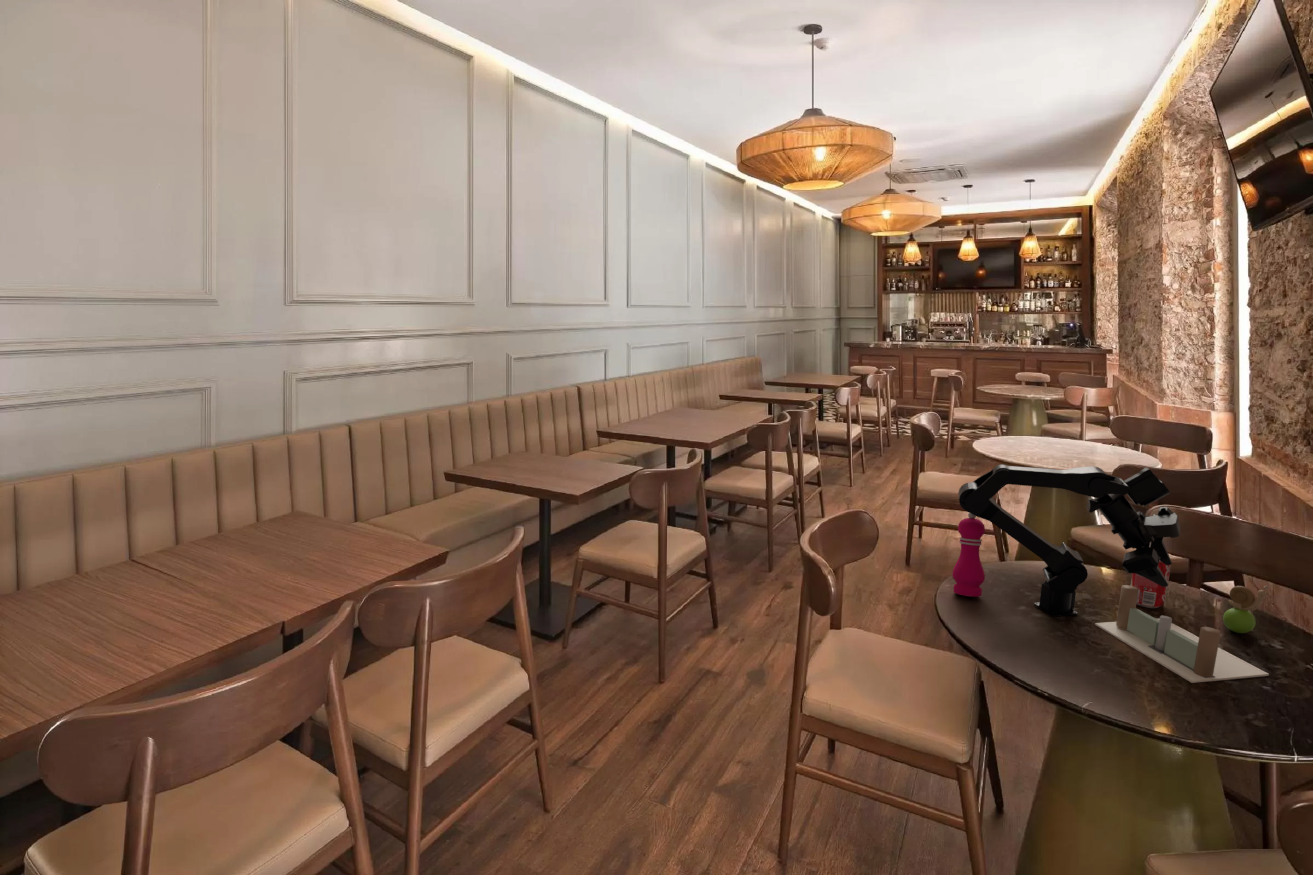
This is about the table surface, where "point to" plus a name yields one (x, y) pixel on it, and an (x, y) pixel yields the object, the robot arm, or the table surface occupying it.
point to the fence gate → (1135, 616)
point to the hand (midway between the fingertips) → (1167, 575)
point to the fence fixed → (1189, 647)
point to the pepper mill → (969, 558)
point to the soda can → (1151, 589)
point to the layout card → (1223, 670)
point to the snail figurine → (1242, 609)
